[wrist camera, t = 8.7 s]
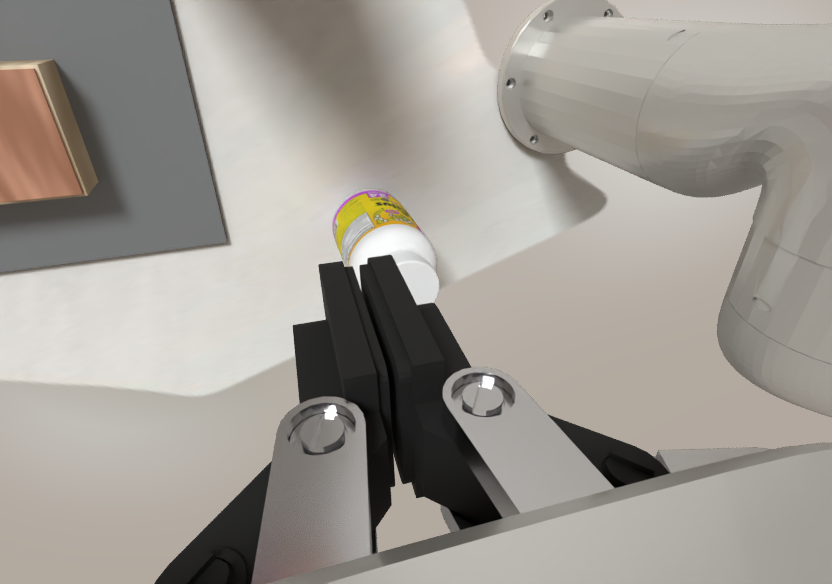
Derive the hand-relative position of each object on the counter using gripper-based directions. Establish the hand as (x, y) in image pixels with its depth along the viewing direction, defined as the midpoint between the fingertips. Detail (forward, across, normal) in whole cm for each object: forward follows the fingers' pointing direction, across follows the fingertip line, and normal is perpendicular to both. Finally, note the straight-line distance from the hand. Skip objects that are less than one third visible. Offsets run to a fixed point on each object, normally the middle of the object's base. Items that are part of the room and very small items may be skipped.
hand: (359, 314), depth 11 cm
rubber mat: (+30, +17, +1) cm, 34 cm away
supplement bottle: (+31, -5, +11) cm, 33 cm away
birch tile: (+28, +14, +1) cm, 31 cm away
